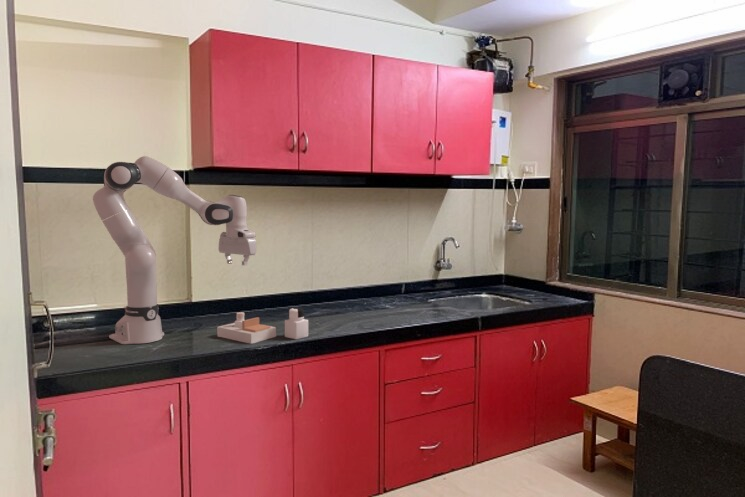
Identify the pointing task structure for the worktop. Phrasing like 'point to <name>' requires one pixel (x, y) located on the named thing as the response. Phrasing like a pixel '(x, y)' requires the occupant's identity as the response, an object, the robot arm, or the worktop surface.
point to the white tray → (245, 333)
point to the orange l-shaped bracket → (253, 325)
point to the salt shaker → (239, 319)
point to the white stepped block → (296, 324)
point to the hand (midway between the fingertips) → (237, 264)
